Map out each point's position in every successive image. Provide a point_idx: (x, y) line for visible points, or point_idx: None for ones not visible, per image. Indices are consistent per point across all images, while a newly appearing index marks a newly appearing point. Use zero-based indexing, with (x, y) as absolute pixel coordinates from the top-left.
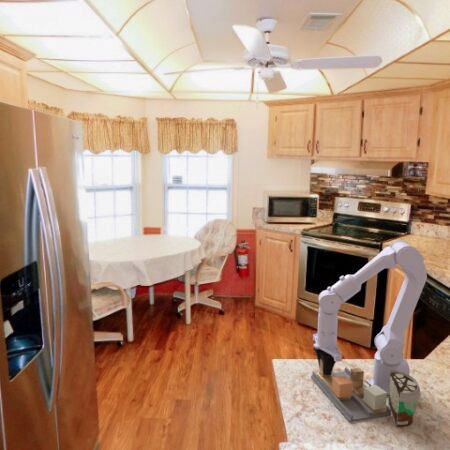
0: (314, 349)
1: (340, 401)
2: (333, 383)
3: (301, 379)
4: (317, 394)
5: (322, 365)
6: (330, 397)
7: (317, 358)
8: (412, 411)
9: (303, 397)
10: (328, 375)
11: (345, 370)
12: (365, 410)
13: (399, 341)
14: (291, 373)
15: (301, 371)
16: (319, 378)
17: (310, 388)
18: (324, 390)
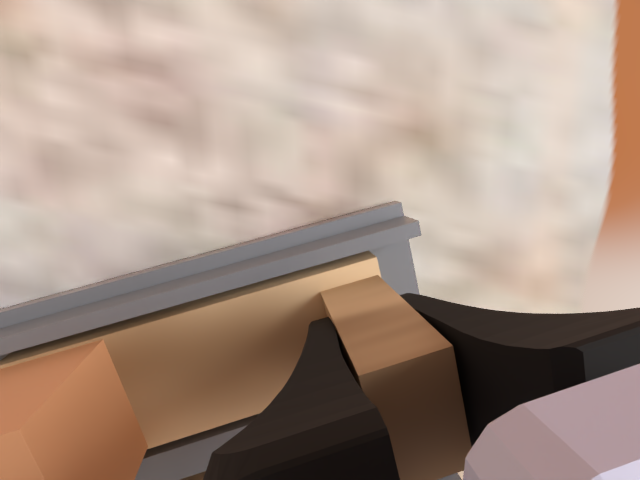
0: (630, 319)
1: None
2: (35, 392)
3: (365, 113)
4: (139, 206)
5: (354, 342)
6: (65, 303)
7: (490, 310)
8: None
9: (72, 67)
10: None
11: (452, 477)
12: None
13: None
14: (461, 39)
15: (486, 139)
16: (297, 262)
17: (228, 164)
18: (172, 273)
